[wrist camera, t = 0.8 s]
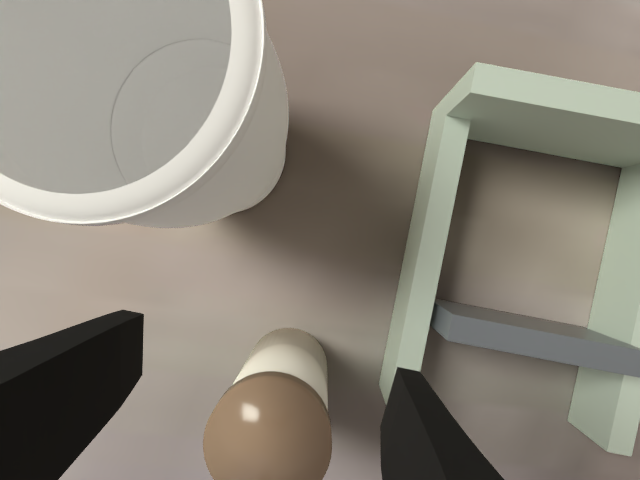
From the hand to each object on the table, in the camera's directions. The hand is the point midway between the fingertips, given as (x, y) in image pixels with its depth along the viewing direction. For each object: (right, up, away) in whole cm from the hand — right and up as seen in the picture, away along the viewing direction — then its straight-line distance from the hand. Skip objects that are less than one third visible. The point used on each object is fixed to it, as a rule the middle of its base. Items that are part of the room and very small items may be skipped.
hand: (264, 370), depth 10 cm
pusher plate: (+14, -2, +15) cm, 20 cm away
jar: (-5, +10, +15) cm, 19 cm away
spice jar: (-1, -5, +15) cm, 16 cm away
